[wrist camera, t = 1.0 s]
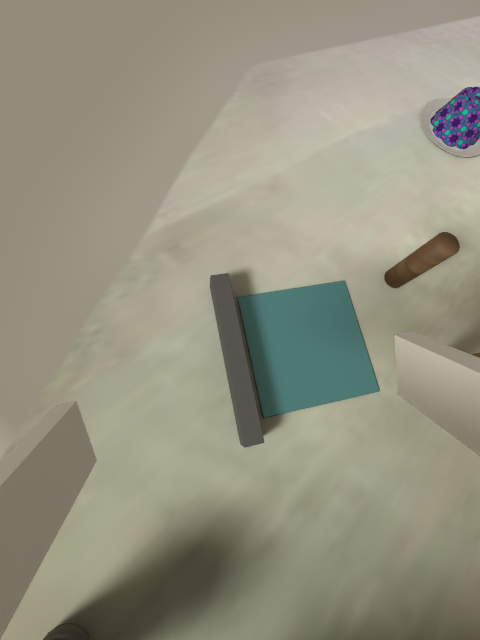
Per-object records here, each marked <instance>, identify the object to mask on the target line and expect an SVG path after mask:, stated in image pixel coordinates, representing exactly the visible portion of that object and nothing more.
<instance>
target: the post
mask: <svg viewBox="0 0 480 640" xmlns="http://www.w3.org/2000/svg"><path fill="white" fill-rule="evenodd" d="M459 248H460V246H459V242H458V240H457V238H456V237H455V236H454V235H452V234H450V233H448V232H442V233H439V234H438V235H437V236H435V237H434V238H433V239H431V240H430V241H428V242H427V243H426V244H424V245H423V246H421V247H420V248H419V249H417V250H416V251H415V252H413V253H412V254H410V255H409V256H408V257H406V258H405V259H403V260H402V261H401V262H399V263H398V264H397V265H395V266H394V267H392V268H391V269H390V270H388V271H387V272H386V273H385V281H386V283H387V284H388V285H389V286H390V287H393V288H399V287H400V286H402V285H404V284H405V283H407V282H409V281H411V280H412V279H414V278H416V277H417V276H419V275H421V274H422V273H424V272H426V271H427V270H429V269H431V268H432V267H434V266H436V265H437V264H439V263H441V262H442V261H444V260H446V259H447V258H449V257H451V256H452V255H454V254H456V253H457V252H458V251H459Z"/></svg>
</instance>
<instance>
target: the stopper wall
mask: <svg viewBox="0 0 480 640" xmlns="http://www.w3.org/2000/svg"><path fill="white" fill-rule="evenodd" d="M210 289H211V295H212V300H213V305H214V310H215V315H216V320H217V326H218V331H219V336H220V341H221V346H222V351H223V357H224V362H225V367H226V372H227V377H228V382H229V388H230V393H231V398H232V403H233V408H234V413H235V419H236V424H237V429H238V434H239V439H240V444H241V445H242V446H243V447H244V448H245V447H249V446H253V445H257V444H261V443H264V438H263V434H262V429H261V424H260V420H259V415H258V410H257V406H256V401H255V396H254V391H253V387H252V382H251V377H250V373H249V368H248V363H247V359H246V354H245V349H244V344H243V340H242V335H241V330H240V326H239V321H238V316H237V312H236V307H235V302H234V297H233V293H232V288H231V283H230V279H229V274H228V273H226V274H219V275H212V276H211V277H210Z"/></svg>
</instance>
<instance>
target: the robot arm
mask: <svg viewBox="0 0 480 640" xmlns="http://www.w3.org/2000/svg"><path fill="white" fill-rule="evenodd" d="M394 337H395V354H396V372H397V390H398V395H399V396H401V397H402V398H403V399H405V400H406V401H407V402H409V403H410V404H411V405H413V406H414V407H415V408H417V409H418V410H419V411H421V412H422V413H423V414H425V415H426V416H427V417H429V418H430V419H431V420H433V421H434V422H435V423H437V424H438V425H439V426H441V427H442V428H443V429H445V430H446V431H447V432H448V433H450V434H451V435H452V436H454V437H455V438H456V439H458V440H459V441H460V442H462V443H463V444H464V445H466V446H467V447H468V448H470V449H471V450H472V451H474V452H475V453H476V454H478V455H479V456H480V358H479V357H476V356H473V355H471V354H468V353H466V352H463V351H461V350H458V349H456V348H453V347H450V346H448V345H445V344H443V343H440V342H438V341H435V340H433V339H430V338H428V337H425V336H422V335H420V334H417V333H415V332H412V331H411V332H406V333H401V334H396V335H394ZM96 461H97V459H96V457H95V454H94V451H93V448H92V445H91V442H90V439H89V436H88V433H87V430H86V427H85V424H84V422H83V419H82V416H81V413H80V410H79V407H78V404H77V401H74V402H69V403H64V404H59V405H56V406H55V407H54V408H53V409H52V410H51V411H50V412H49V413H48V414H47V415H46V416H45V417H44V418H43V419H42V420H41V421H40V422H39V423H38V424H37V425H36V426H35V427H34V428H33V429H32V430H31V431H30V432H29V433H28V434H27V435H26V436H25V437H24V438H23V439H22V440H21V441H20V442H19V443H18V444H17V445H16V446H15V447H14V448H13V449H12V450H11V451H10V452H9V453H8V454H7V455H6V456H5V457H4V458H3V459H2V460H1V461H0V639H1V637H2V635H3V633H4V631H5V630H6V628H7V626H8V624H9V622H10V620H11V618H12V617H13V615H14V613H15V611H16V609H17V607H18V605H19V604H20V602H21V600H22V598H23V596H24V594H25V592H26V591H27V589H28V587H29V585H30V583H31V581H32V579H33V578H34V576H35V574H36V572H37V570H38V568H39V567H40V565H41V563H42V561H43V559H44V557H45V555H46V554H47V552H48V550H49V548H50V546H51V544H52V542H53V541H54V539H55V537H56V535H57V533H58V531H59V529H60V528H61V526H62V524H63V522H64V520H65V518H66V516H67V515H68V513H69V511H70V509H71V507H72V505H73V504H74V502H75V500H76V498H77V496H78V494H79V492H80V491H81V489H82V487H83V485H84V483H85V481H86V479H87V478H88V476H89V474H90V472H91V470H92V468H93V466H94V465H95V463H96Z"/></svg>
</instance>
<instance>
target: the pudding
mask: <svg viewBox="0 0 480 640" xmlns="http://www.w3.org/2000/svg"><path fill="white" fill-rule="evenodd" d="M439 108H441V109H439ZM436 109H439V110H438V111H437V112H436V113H435V115H434V116H433V117H432V118H431V124H432V125H433V127H434V128H433V132H434V134H435V135H436V136H437V137H438V138H441V139H442V140H443V142H444V143H445V144H446V145H448V146H450V147H454V146H456V147H458V148H459V149H466V148H468V146H469V145H474V144H475V143H476V141H477V140H478V138H479V142H478V144H477V145H476V146H475V147H474V148H473V149H471V150H468V151H456V150H453V149H450V148H448V147H446V146H444V145H443V144H441V143H440V142H439V141H438V140H437V139H436V138H435V137H434V136H433V134H432V133H431V131H430V128H429V125H428V119H429V116H430V114H431V113H432V112H433V111H434V110H436ZM421 120H422V125H423V128H424V130H425V132H426V134H427V135H428V136H429V138H430V139H431V140H432V141H433V142H434V143H435V144H436V145H438V146H439V147H440V148H442V149H443V150H445V151H447V152H449V153H451V154H454V155H457V156H462V157H473V156H477V155H480V87H474V88H473V87H467V88H465V89H463V90H462V91H461V92H460V93H458V94H457V95H456V96H455V97H454V98H453V99H447V98H441V99H435V100H432V101H430V102H429V103H428V104H426V105H425V107H424V108H423V111H422V114H421Z"/></svg>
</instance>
